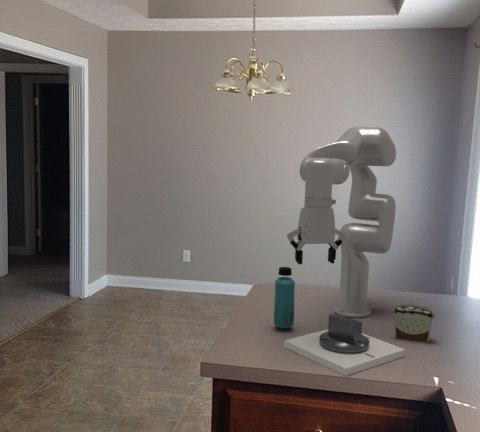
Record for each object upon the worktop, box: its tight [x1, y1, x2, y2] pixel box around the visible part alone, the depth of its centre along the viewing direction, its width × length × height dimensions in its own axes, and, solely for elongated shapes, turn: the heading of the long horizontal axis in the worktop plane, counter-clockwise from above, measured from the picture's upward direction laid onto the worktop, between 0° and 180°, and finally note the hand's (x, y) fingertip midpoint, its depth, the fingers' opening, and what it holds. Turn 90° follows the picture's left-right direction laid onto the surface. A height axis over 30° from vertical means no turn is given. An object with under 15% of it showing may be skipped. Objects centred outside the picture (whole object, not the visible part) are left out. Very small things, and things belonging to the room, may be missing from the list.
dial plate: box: [283, 329, 406, 377], centre depth 162 cm, size 24×24×2 cm
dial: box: [319, 312, 369, 354], centre depth 161 cm, size 14×14×8 cm
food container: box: [392, 303, 436, 345], centre depth 173 cm, size 12×6×10 cm, turn 71°
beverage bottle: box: [273, 266, 296, 329], centre depth 178 cm, size 6×7×20 cm
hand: (315, 262), depth 161 cm, fingers open, 9 cm apart
